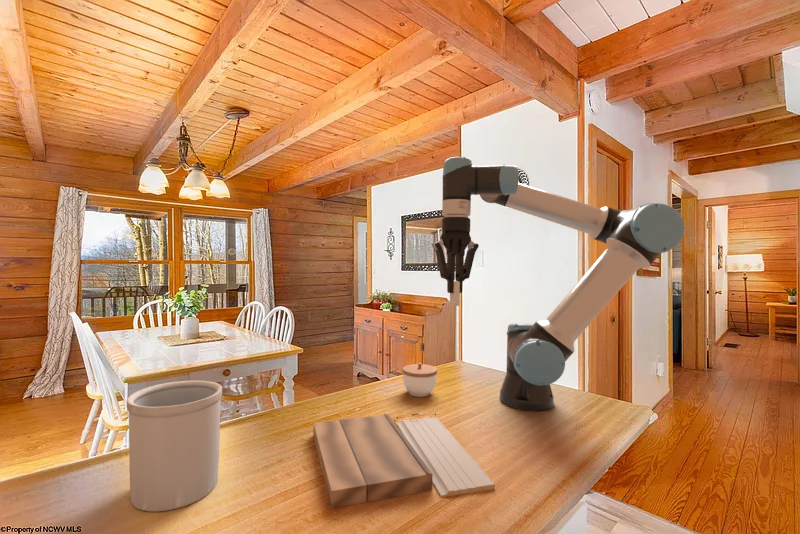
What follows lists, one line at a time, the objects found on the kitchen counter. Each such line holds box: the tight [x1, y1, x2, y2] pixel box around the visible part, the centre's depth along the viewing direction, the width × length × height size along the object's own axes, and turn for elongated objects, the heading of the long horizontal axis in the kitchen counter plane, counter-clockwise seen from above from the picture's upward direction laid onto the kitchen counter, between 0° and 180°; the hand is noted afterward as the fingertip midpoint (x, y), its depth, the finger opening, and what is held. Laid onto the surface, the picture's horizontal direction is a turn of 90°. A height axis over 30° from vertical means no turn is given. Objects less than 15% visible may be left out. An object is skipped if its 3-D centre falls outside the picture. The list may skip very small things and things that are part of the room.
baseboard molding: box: [393, 412, 496, 498], centre depth 86 cm, size 31×3×12 cm
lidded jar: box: [402, 362, 438, 398], centre depth 123 cm, size 11×11×9 cm
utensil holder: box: [126, 380, 223, 512], centre depth 71 cm, size 15×15×18 cm
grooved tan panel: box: [313, 413, 433, 509], centre depth 83 cm, size 18×28×3 cm, turn 18°
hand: (454, 305), depth 107 cm, fingers closed
